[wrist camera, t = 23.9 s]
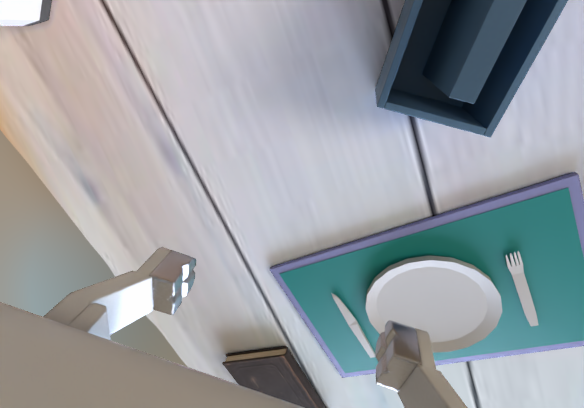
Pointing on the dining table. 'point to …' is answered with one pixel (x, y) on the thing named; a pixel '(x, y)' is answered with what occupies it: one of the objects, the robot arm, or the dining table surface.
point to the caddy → (463, 58)
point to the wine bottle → (24, 12)
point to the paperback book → (273, 375)
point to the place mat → (453, 281)
